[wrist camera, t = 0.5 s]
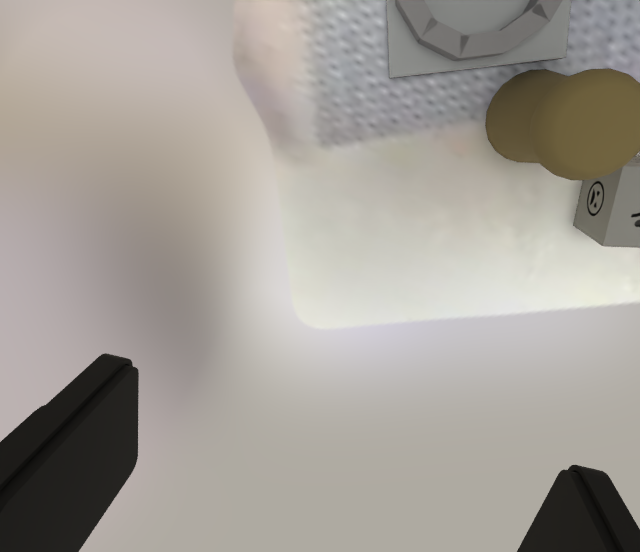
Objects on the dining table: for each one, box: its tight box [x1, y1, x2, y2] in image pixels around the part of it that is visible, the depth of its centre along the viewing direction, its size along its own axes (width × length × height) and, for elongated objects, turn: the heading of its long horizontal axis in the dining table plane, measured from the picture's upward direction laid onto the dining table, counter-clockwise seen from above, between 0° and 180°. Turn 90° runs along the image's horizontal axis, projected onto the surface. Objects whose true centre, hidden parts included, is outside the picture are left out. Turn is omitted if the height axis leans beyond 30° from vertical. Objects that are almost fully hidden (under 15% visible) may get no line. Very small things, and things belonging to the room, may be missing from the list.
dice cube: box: [573, 156, 640, 248], centre depth 29 cm, size 5×5×5 cm
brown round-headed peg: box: [485, 69, 640, 180], centre depth 25 cm, size 6×6×11 cm
